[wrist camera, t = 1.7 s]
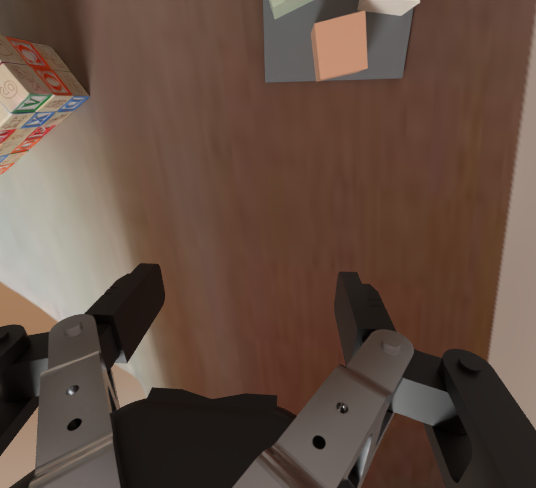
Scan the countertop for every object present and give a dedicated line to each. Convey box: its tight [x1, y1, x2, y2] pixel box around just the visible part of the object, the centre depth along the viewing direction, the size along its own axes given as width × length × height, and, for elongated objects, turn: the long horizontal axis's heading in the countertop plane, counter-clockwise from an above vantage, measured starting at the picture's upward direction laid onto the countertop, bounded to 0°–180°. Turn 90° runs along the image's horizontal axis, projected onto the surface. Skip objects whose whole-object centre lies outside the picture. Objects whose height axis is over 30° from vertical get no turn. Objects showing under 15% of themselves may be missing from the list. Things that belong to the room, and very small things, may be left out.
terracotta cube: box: [311, 11, 368, 82], centre depth 29 cm, size 4×4×4 cm
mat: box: [263, 0, 414, 82], centre depth 30 cm, size 11×15×1 cm
